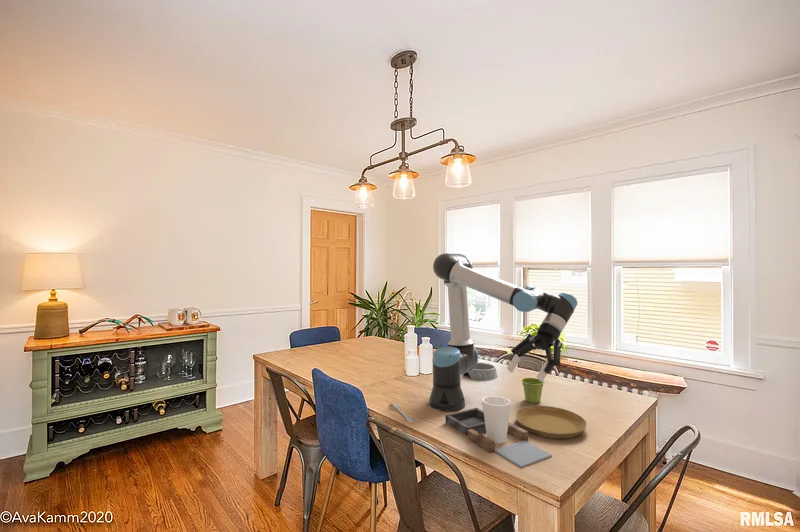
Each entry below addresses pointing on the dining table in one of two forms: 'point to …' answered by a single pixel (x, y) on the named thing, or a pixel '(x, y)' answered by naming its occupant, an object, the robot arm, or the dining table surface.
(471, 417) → the track
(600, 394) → the dining table surface
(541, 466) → the dining table surface
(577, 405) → the dining table surface
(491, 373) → the dog bowl
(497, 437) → the foam cup
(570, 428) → the plant saucer
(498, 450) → the mat
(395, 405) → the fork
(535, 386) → the plant pot
